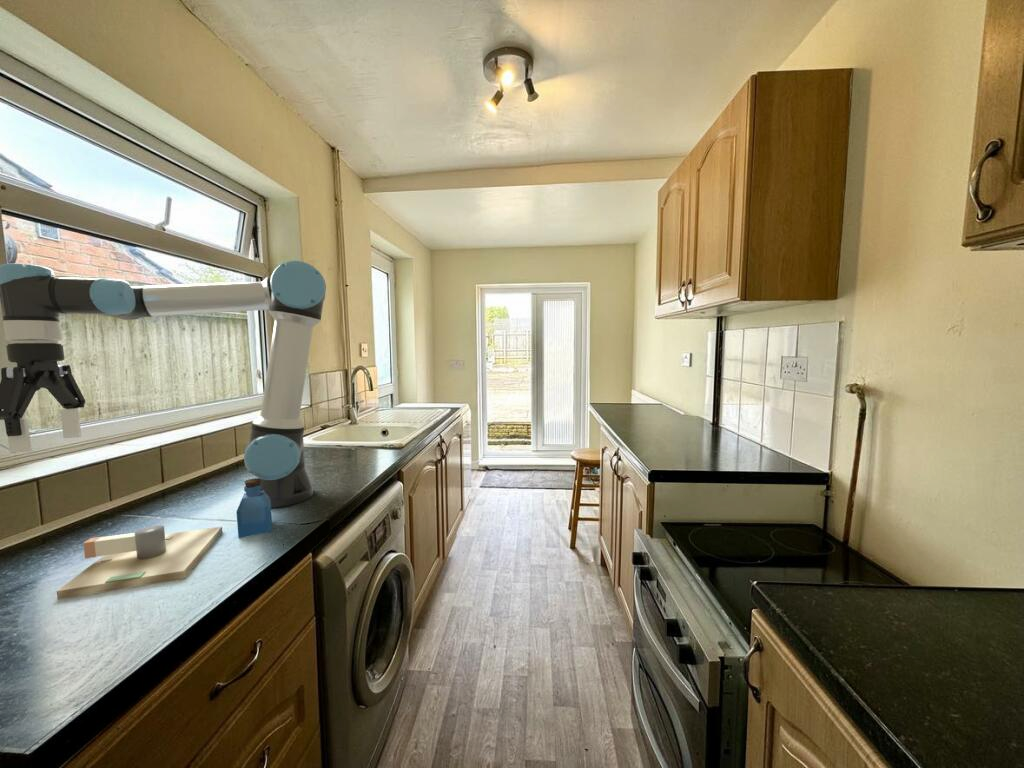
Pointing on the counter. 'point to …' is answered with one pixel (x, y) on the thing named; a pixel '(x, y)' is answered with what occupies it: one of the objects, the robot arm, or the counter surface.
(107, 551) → the hammer
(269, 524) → the perfume bottle
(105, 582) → the board
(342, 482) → the counter surface
